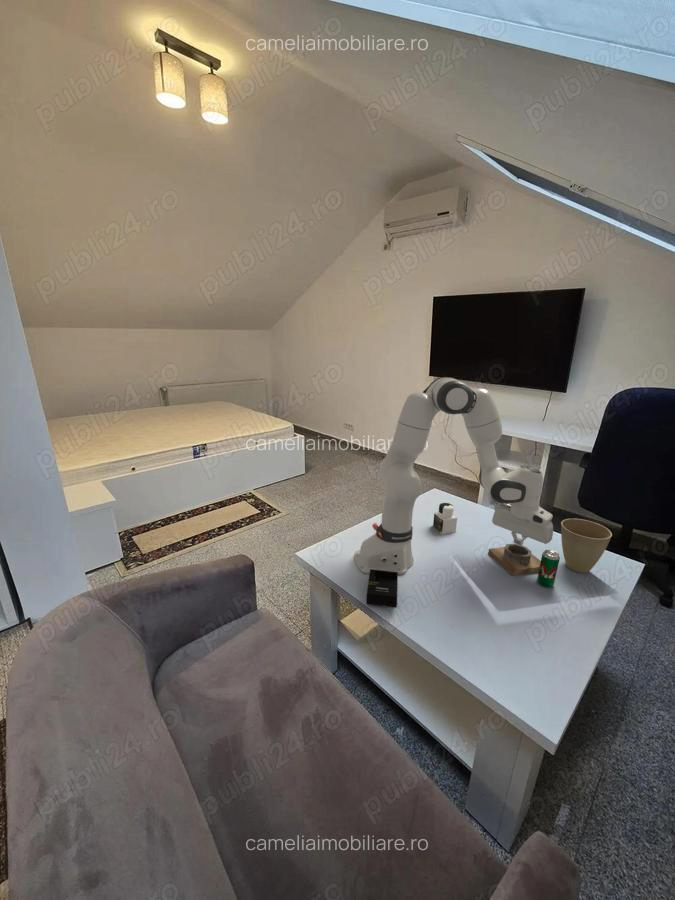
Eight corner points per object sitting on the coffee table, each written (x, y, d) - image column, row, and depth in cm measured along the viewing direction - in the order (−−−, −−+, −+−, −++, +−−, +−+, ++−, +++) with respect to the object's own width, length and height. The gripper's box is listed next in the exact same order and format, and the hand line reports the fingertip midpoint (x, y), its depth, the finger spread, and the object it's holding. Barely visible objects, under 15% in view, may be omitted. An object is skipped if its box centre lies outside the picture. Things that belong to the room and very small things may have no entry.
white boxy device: (432, 527, 159) (434, 502, 156) (446, 524, 161) (449, 500, 158) (441, 534, 153) (444, 509, 149) (456, 532, 155) (458, 507, 151)
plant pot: (601, 563, 133) (610, 525, 129) (602, 585, 122) (613, 543, 117) (555, 550, 141) (562, 514, 137) (552, 570, 130) (560, 530, 125)
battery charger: (396, 608, 111) (397, 597, 110) (366, 604, 113) (366, 593, 112) (397, 581, 124) (397, 571, 122) (369, 578, 125) (369, 568, 124)
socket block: (511, 575, 127) (513, 563, 125) (488, 553, 140) (489, 541, 138) (546, 570, 129) (548, 558, 128) (520, 549, 142) (522, 538, 141)
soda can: (553, 582, 123) (560, 551, 120) (553, 590, 119) (560, 559, 115) (537, 577, 126) (543, 547, 122) (536, 585, 121) (542, 554, 118)
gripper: (491, 502, 134) (487, 535, 138) (551, 522, 120) (544, 558, 124) (499, 498, 138) (494, 530, 142) (557, 516, 124) (550, 551, 128)
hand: (518, 543), depth 133 cm, fingers closed
